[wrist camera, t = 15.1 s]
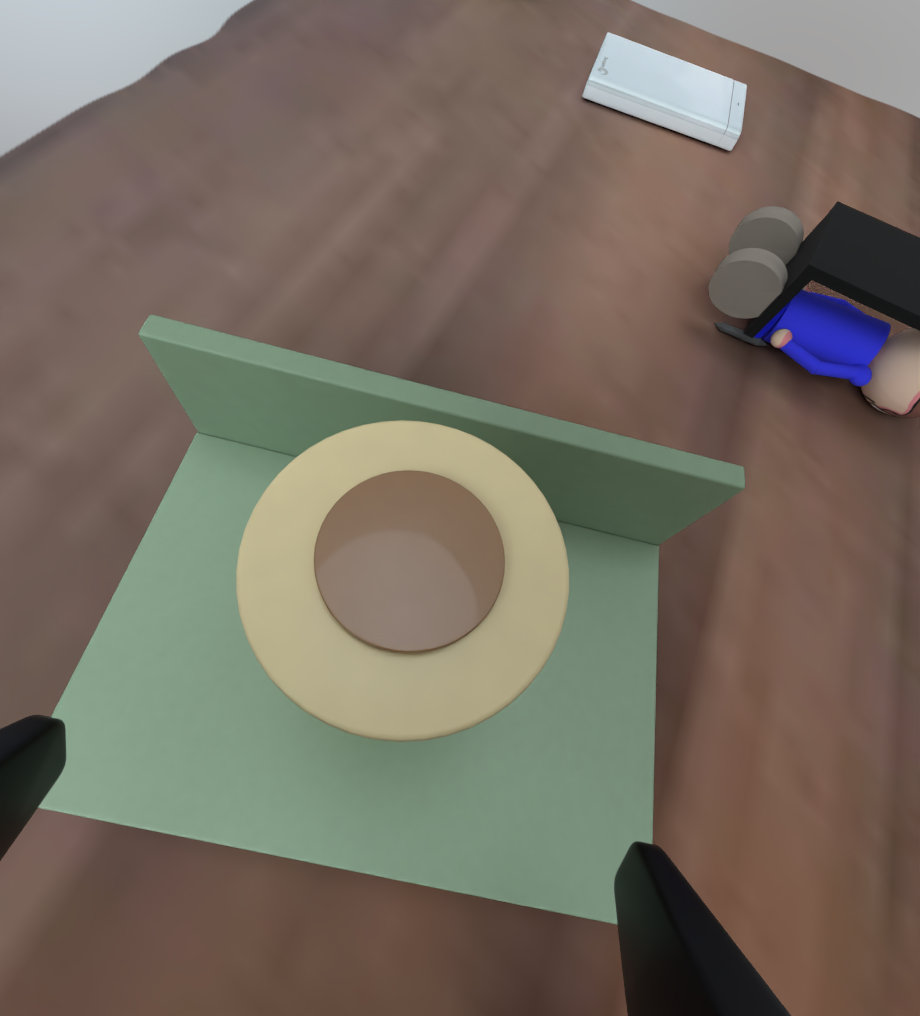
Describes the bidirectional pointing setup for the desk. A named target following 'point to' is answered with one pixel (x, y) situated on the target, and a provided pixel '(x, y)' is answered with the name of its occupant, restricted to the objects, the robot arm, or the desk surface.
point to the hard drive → (667, 92)
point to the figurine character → (829, 298)
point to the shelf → (354, 759)
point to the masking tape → (402, 581)
